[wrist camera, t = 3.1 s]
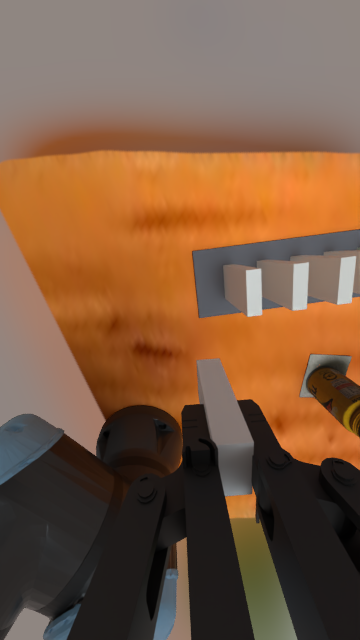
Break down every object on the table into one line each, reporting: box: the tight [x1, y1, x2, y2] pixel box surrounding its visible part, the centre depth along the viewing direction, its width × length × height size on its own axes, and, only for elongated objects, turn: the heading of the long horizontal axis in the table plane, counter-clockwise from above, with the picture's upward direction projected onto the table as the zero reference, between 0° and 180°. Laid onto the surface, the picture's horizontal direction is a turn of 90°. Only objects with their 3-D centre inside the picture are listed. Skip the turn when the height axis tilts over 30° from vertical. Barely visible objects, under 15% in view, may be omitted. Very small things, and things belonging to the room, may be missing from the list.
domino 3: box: [290, 255, 356, 305], centre depth 29 cm, size 2×5×10 cm, turn 7°
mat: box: [192, 230, 360, 318], centre depth 33 cm, size 32×10×1 cm, turn 97°
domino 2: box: [257, 260, 309, 311], centre depth 28 cm, size 2×5×10 cm, turn 7°
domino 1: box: [223, 264, 262, 317], centre depth 28 cm, size 2×5×10 cm, turn 7°
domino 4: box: [324, 250, 360, 294], centre depth 29 cm, size 2×5×10 cm, turn 7°
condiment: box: [300, 354, 360, 438], centre depth 34 cm, size 7×8×12 cm
